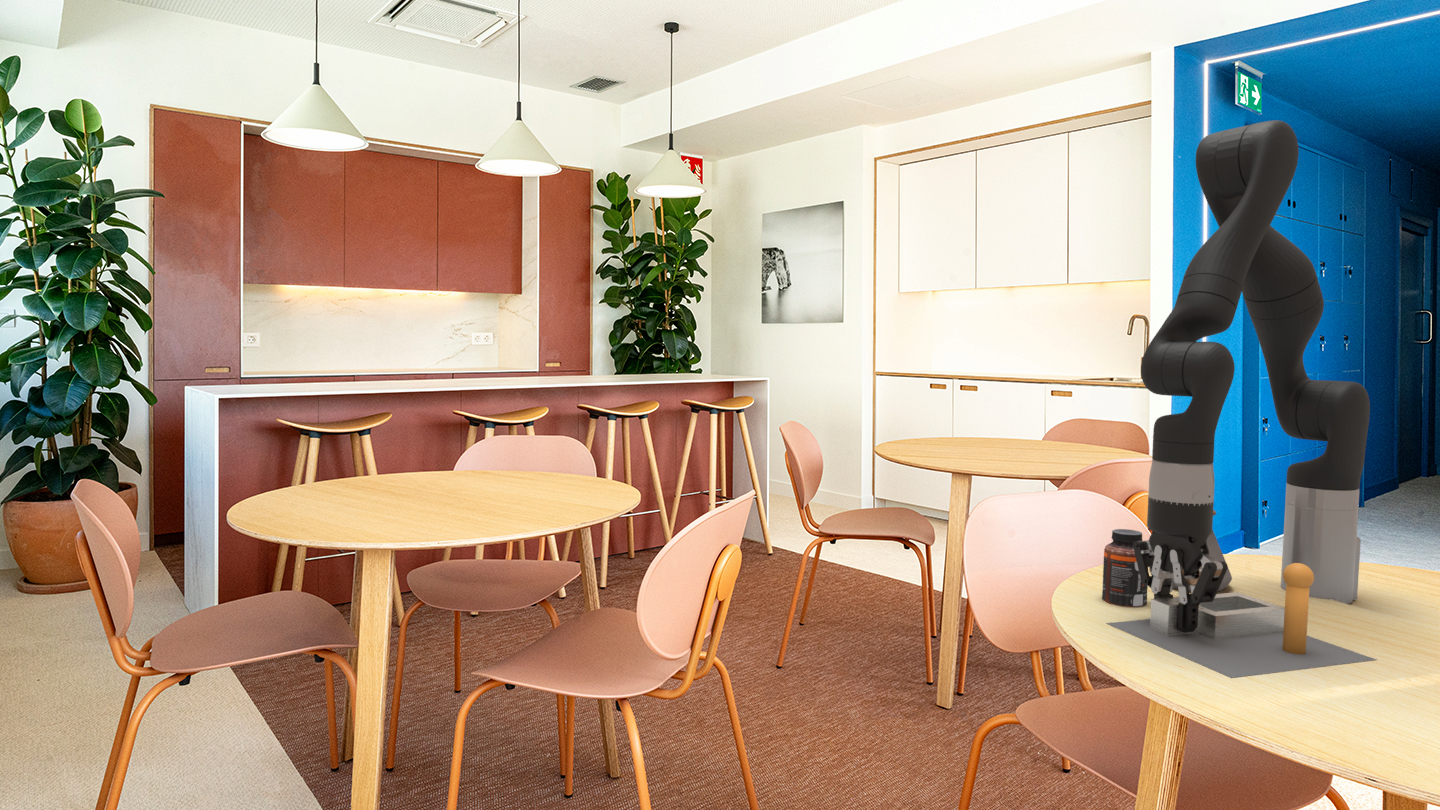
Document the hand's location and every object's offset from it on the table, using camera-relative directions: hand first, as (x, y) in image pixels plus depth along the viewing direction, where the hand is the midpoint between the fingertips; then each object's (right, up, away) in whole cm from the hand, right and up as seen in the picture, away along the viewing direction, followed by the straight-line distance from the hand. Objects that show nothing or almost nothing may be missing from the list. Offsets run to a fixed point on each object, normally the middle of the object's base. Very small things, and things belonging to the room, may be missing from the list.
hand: (1174, 626), depth 115 cm
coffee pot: (+12, -1, +19) cm, 22 cm away
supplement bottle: (0, -1, +14) cm, 14 cm away
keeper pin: (+11, -2, -7) cm, 13 cm away
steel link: (+6, -1, +2) cm, 6 cm away
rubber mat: (+6, -2, -3) cm, 7 cm away
